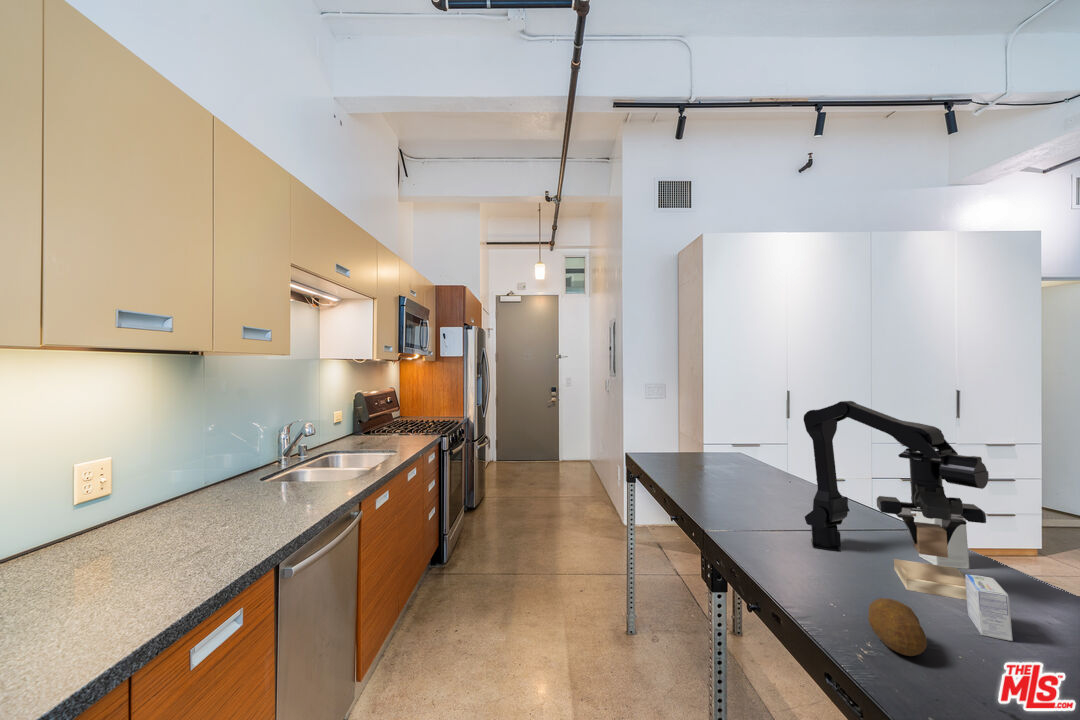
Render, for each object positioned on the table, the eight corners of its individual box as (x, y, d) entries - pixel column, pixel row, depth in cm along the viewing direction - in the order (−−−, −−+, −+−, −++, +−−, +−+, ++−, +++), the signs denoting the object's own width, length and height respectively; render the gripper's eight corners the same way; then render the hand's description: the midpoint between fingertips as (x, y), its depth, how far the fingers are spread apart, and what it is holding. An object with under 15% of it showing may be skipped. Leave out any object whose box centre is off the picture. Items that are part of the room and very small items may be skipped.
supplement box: (970, 569, 109) (967, 518, 109) (936, 567, 110) (933, 517, 111) (949, 557, 116) (946, 509, 116) (917, 555, 117) (914, 508, 118)
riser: (906, 589, 100) (906, 577, 100) (894, 568, 110) (893, 558, 110) (977, 601, 94) (976, 588, 94) (957, 578, 104) (956, 566, 104)
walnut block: (919, 553, 101) (918, 528, 102) (913, 546, 106) (912, 521, 106) (948, 557, 99) (946, 531, 99) (940, 549, 103) (939, 524, 104)
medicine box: (1013, 642, 80) (1010, 595, 80) (980, 635, 82) (977, 589, 82) (997, 621, 86) (994, 577, 87) (967, 615, 89) (964, 572, 89)
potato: (892, 664, 75) (889, 619, 75) (854, 623, 87) (852, 584, 87) (946, 669, 73) (943, 622, 74) (899, 627, 85) (897, 587, 86)
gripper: (884, 483, 100) (888, 550, 100) (995, 491, 91) (999, 566, 91) (874, 473, 110) (877, 534, 110) (973, 479, 101) (977, 547, 101)
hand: (929, 545), depth 102 cm, fingers closed on walnut block, 5 cm apart
